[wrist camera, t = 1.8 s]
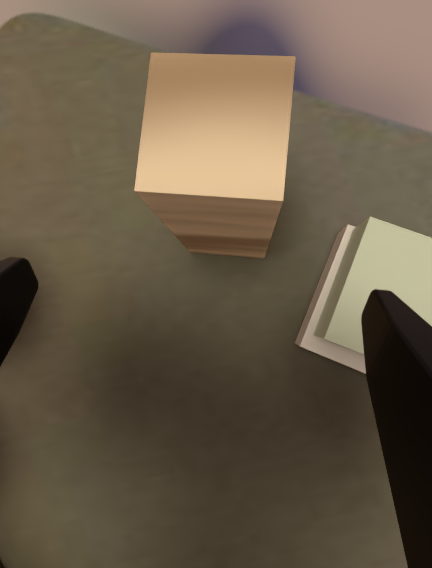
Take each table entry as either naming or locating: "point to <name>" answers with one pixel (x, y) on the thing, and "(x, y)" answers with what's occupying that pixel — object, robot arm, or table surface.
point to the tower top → (376, 279)
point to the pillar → (216, 148)
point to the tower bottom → (316, 307)
